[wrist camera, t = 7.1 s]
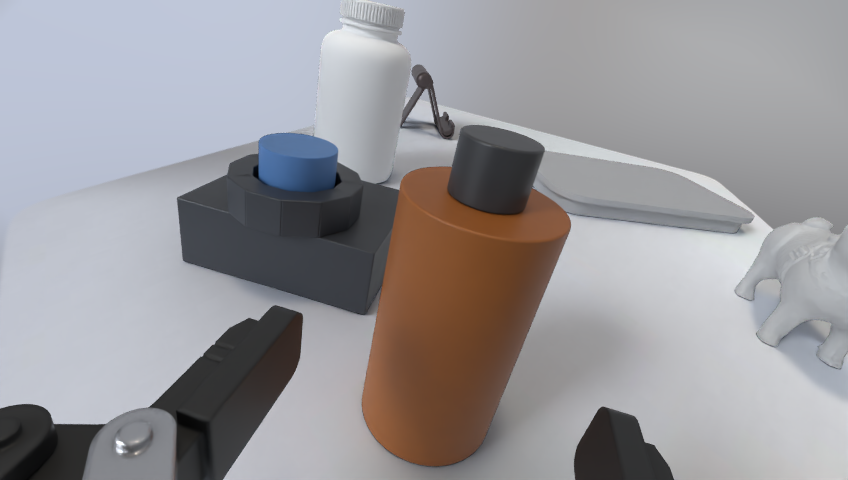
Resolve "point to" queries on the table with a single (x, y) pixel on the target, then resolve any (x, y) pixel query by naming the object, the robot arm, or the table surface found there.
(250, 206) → the dark grey button base
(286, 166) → the blue push button
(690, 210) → the tablet
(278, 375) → the robot arm
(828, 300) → the grey animal figurine
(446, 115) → the tablet stand
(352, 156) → the pill bottle
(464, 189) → the bottle
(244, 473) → the table surface
